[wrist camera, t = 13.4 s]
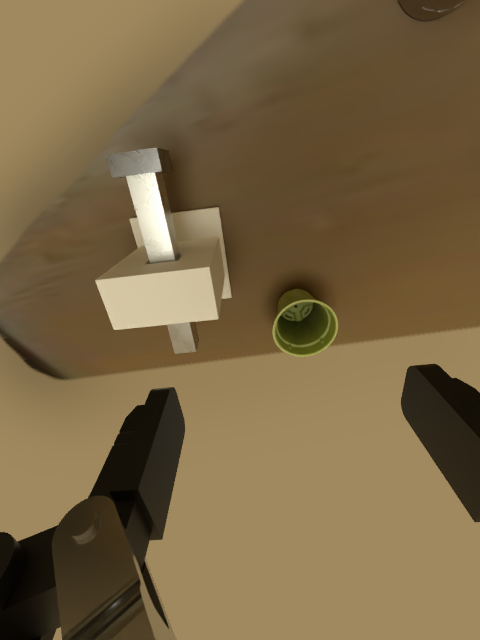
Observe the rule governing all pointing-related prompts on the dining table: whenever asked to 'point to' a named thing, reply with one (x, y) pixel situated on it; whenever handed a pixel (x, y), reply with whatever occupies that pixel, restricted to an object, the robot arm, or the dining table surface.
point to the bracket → (170, 277)
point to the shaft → (154, 219)
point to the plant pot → (303, 324)
